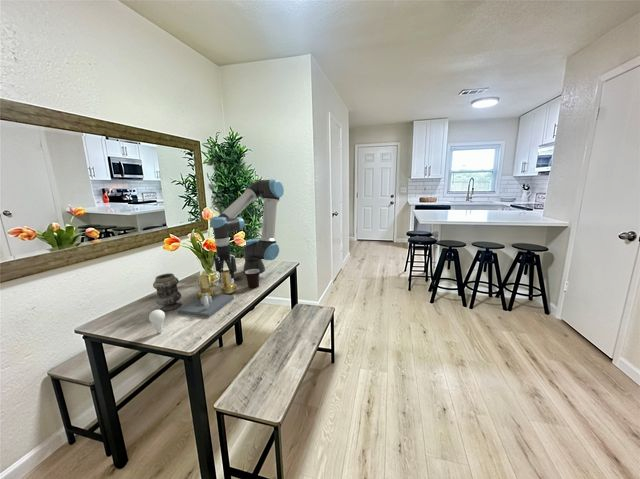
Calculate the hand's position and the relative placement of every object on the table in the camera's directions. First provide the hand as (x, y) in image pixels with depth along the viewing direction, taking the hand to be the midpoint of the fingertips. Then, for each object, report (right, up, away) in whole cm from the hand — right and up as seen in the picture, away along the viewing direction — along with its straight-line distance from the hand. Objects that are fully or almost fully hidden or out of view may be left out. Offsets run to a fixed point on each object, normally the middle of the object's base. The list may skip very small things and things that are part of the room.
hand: (228, 282), depth 160 cm
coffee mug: (+13, -4, +10) cm, 17 cm away
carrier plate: (-6, -10, -14) cm, 19 cm away
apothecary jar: (-26, -11, -14) cm, 31 cm away
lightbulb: (-17, -16, -38) cm, 45 cm away
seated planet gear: (-10, -6, -7) cm, 14 cm away
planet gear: (0, -5, +1) cm, 5 cm away
